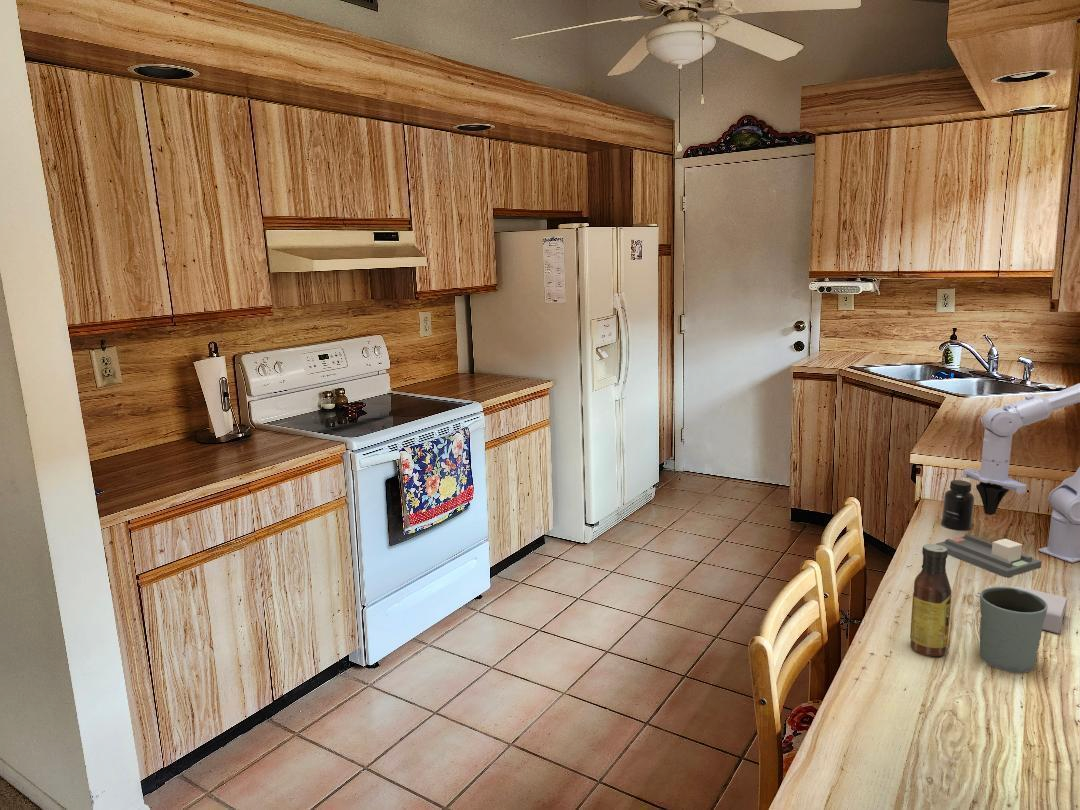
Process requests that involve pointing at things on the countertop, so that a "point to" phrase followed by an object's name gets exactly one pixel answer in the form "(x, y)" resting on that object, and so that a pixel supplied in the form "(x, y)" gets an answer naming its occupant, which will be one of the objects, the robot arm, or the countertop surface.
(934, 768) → the countertop surface
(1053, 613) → the charger
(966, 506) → the supplement bottle
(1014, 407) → the robot arm
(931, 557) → the sauce bottle
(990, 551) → the switch track
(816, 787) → the countertop surface
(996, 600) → the grey cup
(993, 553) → the slider knob
